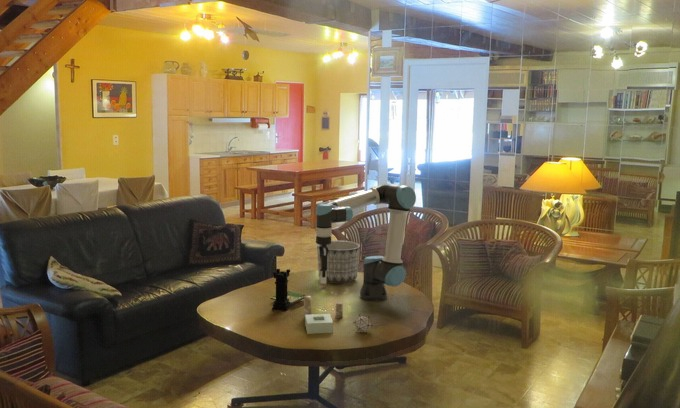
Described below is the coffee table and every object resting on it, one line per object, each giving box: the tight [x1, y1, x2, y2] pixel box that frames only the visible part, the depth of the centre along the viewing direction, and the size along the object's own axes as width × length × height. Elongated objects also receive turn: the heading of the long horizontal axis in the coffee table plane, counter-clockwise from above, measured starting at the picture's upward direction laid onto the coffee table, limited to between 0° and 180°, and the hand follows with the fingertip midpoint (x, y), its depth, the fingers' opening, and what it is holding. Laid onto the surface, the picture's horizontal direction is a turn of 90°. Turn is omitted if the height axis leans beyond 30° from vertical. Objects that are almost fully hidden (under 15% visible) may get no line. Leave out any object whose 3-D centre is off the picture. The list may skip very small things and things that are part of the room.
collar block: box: [304, 313, 334, 335], centre depth 281 cm, size 12×12×5 cm
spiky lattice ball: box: [352, 313, 374, 335], centre depth 277 cm, size 9×8×10 cm
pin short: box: [335, 301, 344, 319], centre depth 297 cm, size 4×4×7 cm
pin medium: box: [303, 295, 312, 320], centre depth 295 cm, size 4×4×11 cm
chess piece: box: [271, 268, 292, 312], centre depth 309 cm, size 8×8×20 cm
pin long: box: [318, 257, 327, 291], centre depth 292 cm, size 4×4×16 cm
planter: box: [316, 240, 361, 284], centre depth 361 cm, size 26×26×22 cm
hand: (322, 281), depth 292 cm, fingers closed on pin long, 3 cm apart
